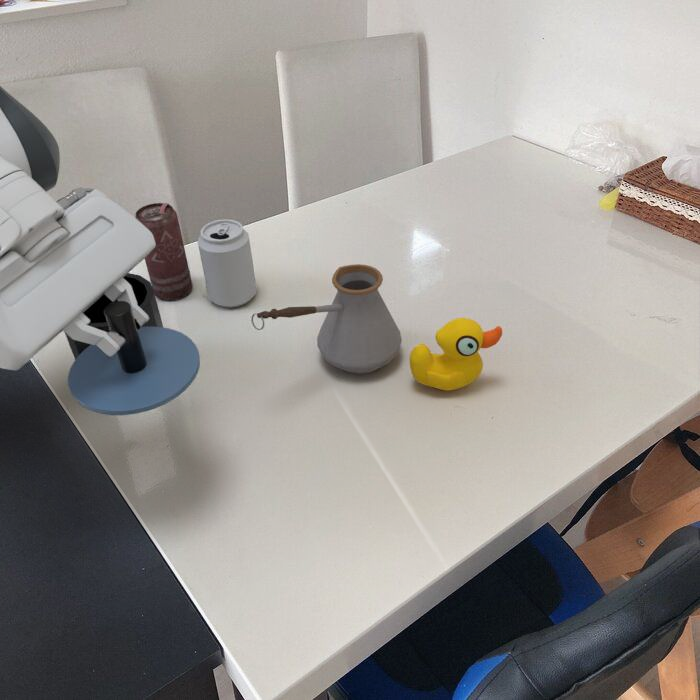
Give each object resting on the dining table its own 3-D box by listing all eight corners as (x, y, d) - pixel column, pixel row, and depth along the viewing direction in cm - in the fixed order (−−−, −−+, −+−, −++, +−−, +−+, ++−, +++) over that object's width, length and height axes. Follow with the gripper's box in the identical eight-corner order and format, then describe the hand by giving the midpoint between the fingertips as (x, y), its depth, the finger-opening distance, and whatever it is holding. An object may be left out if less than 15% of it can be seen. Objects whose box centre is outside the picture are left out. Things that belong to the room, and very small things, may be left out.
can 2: (201, 307, 104) (186, 239, 96) (220, 280, 109) (207, 213, 102) (247, 313, 102) (236, 244, 94) (264, 285, 108) (254, 218, 100)
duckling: (490, 366, 91) (498, 306, 85) (499, 394, 87) (508, 333, 81) (406, 372, 91) (408, 312, 85) (411, 399, 87) (413, 339, 80)
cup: (92, 413, 87) (62, 337, 79) (80, 360, 95) (52, 286, 87) (181, 386, 90) (161, 310, 82) (162, 337, 98) (143, 264, 90)
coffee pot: (362, 319, 100) (360, 230, 90) (418, 356, 93) (422, 264, 84) (242, 387, 90) (225, 294, 80) (295, 434, 83) (283, 338, 73)
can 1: (200, 281, 109) (183, 202, 100) (182, 304, 105) (163, 223, 96) (165, 276, 111) (146, 198, 102) (147, 298, 106) (125, 219, 97)
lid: (79, 436, 61) (51, 368, 56) (64, 355, 70) (39, 289, 65) (215, 395, 65) (201, 328, 60) (184, 323, 74) (170, 258, 69)
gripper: (76, 197, 70) (174, 292, 74) (-86, 307, 56) (47, 420, 59) (100, 162, 66) (204, 265, 70) (-67, 272, 52) (74, 395, 55)
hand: (130, 337), depth 64 cm, fingers closed on lid, 2 cm apart
